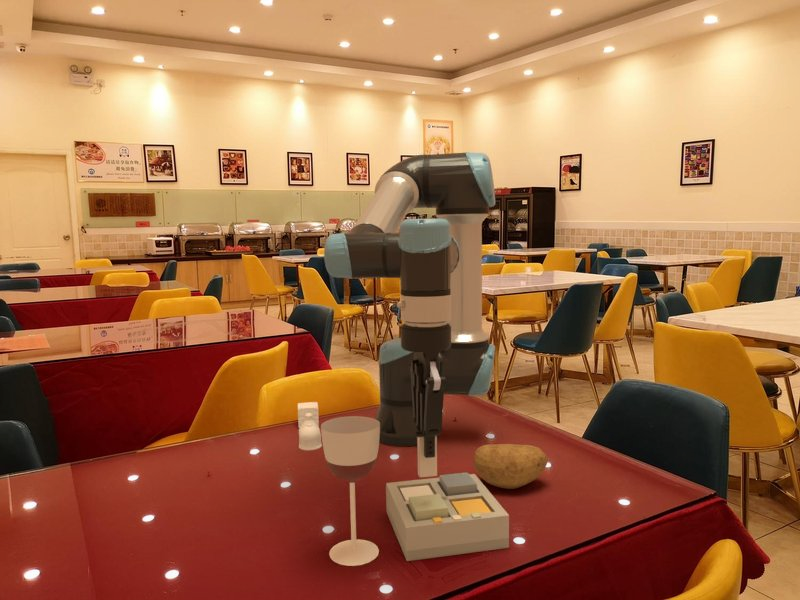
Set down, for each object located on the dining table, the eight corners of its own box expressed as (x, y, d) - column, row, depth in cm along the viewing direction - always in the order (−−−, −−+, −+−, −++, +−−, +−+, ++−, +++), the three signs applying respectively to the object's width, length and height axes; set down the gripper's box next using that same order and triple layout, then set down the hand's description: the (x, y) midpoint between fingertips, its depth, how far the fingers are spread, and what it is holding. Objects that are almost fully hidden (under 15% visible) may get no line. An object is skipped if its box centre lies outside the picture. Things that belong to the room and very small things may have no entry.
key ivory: (400, 502, 102) (399, 488, 102) (428, 499, 103) (428, 485, 103) (406, 516, 97) (406, 501, 97) (436, 512, 98) (436, 497, 98)
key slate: (439, 489, 104) (439, 475, 103) (467, 486, 105) (467, 472, 104) (447, 502, 99) (447, 487, 98) (476, 499, 100) (476, 484, 99)
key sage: (408, 512, 95) (408, 497, 95) (439, 509, 96) (439, 493, 96) (416, 527, 90) (416, 511, 90) (448, 524, 92) (448, 507, 91)
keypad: (386, 511, 104) (385, 481, 103) (474, 501, 107) (474, 472, 107) (406, 561, 89) (406, 525, 88) (508, 547, 92) (509, 513, 91)
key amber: (451, 517, 97) (451, 501, 97) (480, 513, 98) (480, 498, 98) (460, 532, 92) (460, 516, 92) (491, 528, 93) (491, 512, 93)
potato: (554, 495, 109) (554, 453, 108) (477, 498, 109) (477, 455, 108) (539, 473, 119) (540, 434, 118) (469, 476, 119) (469, 437, 118)
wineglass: (326, 540, 95) (322, 417, 93) (381, 537, 96) (378, 415, 93) (324, 568, 87) (319, 434, 85) (384, 564, 88) (381, 432, 85)
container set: (297, 423, 153) (297, 402, 152) (318, 422, 154) (317, 401, 153) (298, 452, 134) (297, 428, 133) (322, 450, 134) (321, 426, 134)
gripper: (392, 318, 95) (395, 461, 98) (411, 330, 83) (413, 495, 85) (438, 315, 97) (439, 457, 100) (463, 328, 84) (463, 489, 87)
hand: (427, 474), depth 92 cm, fingers closed
